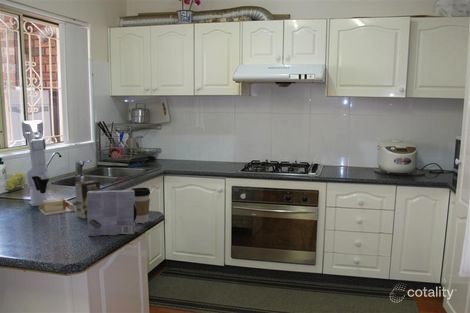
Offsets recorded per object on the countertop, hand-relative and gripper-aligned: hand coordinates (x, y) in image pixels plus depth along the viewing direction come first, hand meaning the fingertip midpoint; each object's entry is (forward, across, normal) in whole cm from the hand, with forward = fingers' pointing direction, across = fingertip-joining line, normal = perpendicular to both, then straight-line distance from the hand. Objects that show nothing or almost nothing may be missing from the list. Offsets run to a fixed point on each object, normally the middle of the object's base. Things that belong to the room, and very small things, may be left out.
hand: (41, 191), depth 198 cm
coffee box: (+10, +23, +15) cm, 29 cm away
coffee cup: (+10, +47, +30) cm, 57 cm away
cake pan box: (+10, +55, +14) cm, 58 cm away
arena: (+9, +4, +6) cm, 12 cm away
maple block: (+9, +4, +5) cm, 11 cm away
